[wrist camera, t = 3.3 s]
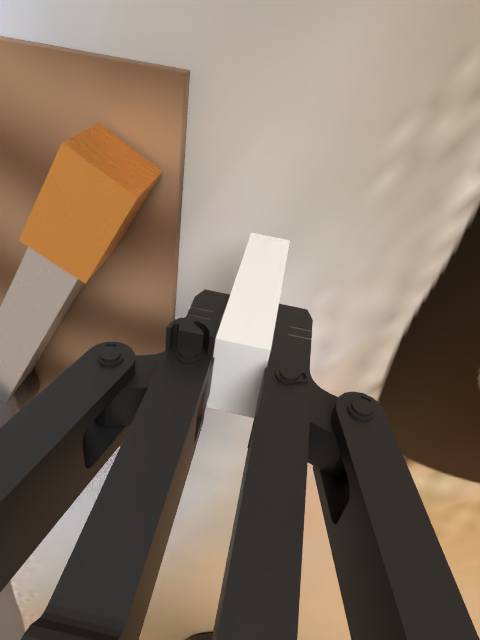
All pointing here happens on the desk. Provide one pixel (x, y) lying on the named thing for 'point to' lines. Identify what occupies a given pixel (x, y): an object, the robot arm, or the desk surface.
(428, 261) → the desk surface
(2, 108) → the board
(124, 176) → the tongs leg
